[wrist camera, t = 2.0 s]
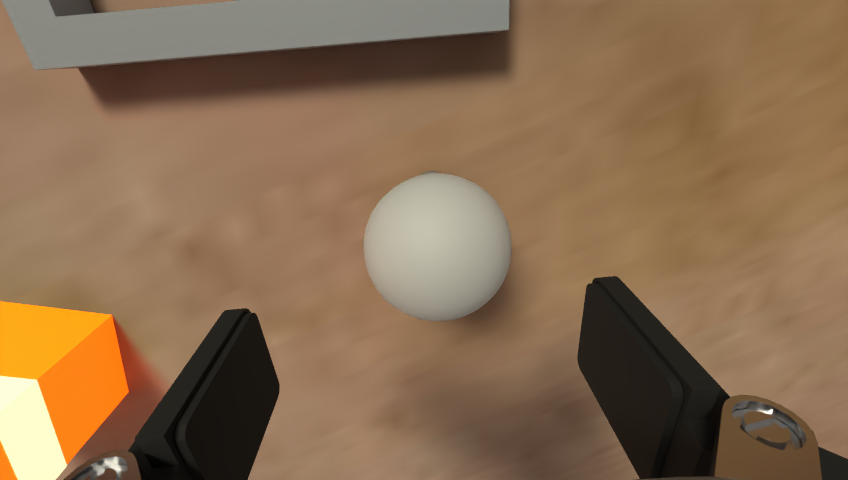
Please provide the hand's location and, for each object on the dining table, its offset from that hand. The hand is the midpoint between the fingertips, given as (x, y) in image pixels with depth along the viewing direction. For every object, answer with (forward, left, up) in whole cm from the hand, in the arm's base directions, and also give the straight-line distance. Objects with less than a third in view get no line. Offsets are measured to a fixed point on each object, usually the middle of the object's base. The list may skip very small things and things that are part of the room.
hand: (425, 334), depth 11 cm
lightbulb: (-1, 0, -14) cm, 14 cm away
